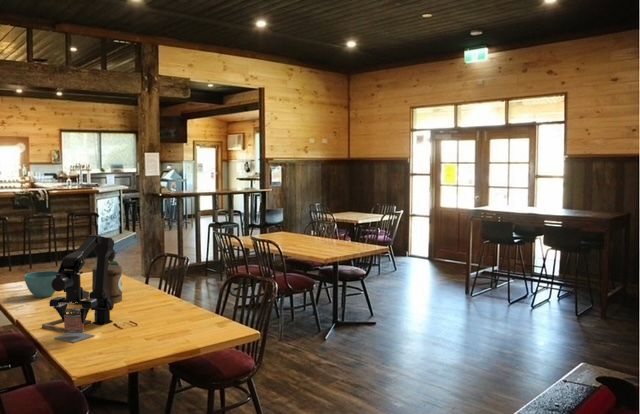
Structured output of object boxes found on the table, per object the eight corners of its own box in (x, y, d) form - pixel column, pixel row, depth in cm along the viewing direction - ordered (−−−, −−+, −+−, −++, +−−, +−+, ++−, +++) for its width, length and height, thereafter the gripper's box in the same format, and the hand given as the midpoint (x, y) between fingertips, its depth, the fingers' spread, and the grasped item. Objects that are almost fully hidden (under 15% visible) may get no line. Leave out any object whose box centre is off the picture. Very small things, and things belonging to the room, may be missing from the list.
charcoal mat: (94, 336, 232) (94, 335, 232) (74, 343, 223) (74, 341, 223) (74, 332, 237) (74, 331, 237) (54, 338, 228) (54, 337, 228)
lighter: (85, 330, 232) (85, 307, 231) (82, 333, 228) (81, 309, 227) (66, 330, 231) (65, 307, 230) (62, 333, 228) (62, 309, 227)
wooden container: (127, 301, 292) (126, 260, 291) (100, 306, 281) (99, 263, 280) (113, 296, 302) (113, 257, 301) (87, 301, 291) (86, 260, 290)
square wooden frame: (91, 324, 250) (91, 320, 249) (64, 332, 237) (64, 329, 237) (69, 319, 256) (69, 316, 256) (42, 327, 243) (41, 324, 243)
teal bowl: (51, 300, 292) (50, 277, 291) (17, 299, 292) (17, 277, 291) (67, 292, 310) (67, 271, 309) (36, 292, 310) (35, 270, 310)
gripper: (104, 282, 235) (105, 318, 236) (64, 281, 238) (65, 316, 239) (89, 288, 224) (90, 325, 225) (48, 286, 227) (49, 323, 228)
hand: (74, 322), depth 230 cm, fingers closed on lighter, 8 cm apart
